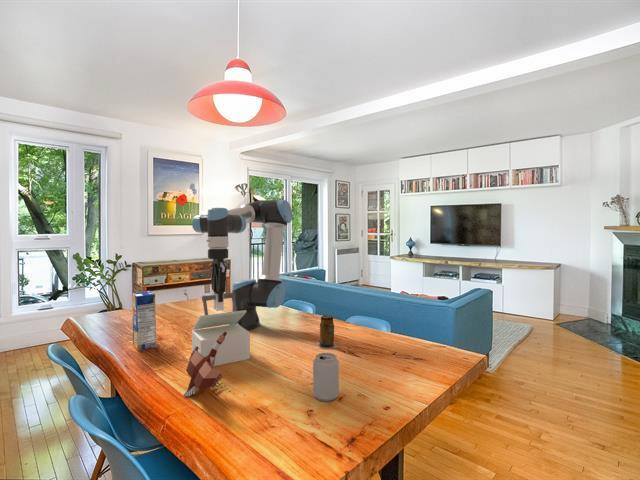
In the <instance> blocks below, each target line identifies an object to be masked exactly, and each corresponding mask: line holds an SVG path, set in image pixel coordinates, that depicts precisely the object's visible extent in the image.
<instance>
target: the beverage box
mask: <svg viewBox="0 0 640 480" xmlns="http://www.w3.org/2000/svg"><path fill="white" fill-rule="evenodd" d="M131 297H132V298H131V299H132V301H131V303H132V306H131V308H132V344H133V345H134V348H135V349H136V350H137V351H138V352H139V351H144V350H149V349H153V348H154V349H155V348H157V341H156V340H157V337H156V336H157V330H156V324H157V323H156V321H157V319H156V294H155V293H154V292H152V291H151V290H143V291H134V292H132V293H131Z"/></svg>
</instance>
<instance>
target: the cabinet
mask: <svg viewBox="0 0 640 480" xmlns="http://www.w3.org/2000/svg"><path fill="white" fill-rule="evenodd" d="M224 332H227V334H226V336H225V340H224V341H223V343H222V344H221V345H220V346H219V348H218V350H217V353H216V356H215V364H214V367H215V366H221V365H225V364H231V363H236V362H241V361H245V360H250V359H251V332H250V331H249V330H248V329H244V328H243V327H241V326H240V325H238V324H233V325H222V326H215V327H209V328H202V329H195V330H193V329H192V330H191V353H193V351H195V350H194V348H195V347H196V346H197V347H199V349H198V352H199V353H200V354H201V355H202V356H203V357H206V356H208V355H209V353H210V351H211V349H212V347H213V346H214V344H215V343H216V341H217V339H218V338H219V336H221V335H222V334H223V333H224Z"/></svg>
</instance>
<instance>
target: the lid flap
mask: <svg viewBox="0 0 640 480" xmlns="http://www.w3.org/2000/svg"><path fill="white" fill-rule="evenodd" d="M226 299H231V301H232V303H233V307H232V309H233V308H234V312H232V311H229V312H221V313H220V312H219V313H214V314H209V311H208V303H207V302H208V301H214V300H216V294H215V295H214V294H207V295H206V294H205V295H202V296H201V301H202V304H203V311H204V315H200V316H199V317H198V319H197V320H196V322H195V324H194V325H193V326H192V331H193V330H200V329H206V328H213V327H220V326H226V325H229V324H235V323H237V322H238V321H239V320H240V319H241V317H242V316H243V315H244V314H245V313H246V310H243V311H237V306H236V300H235V293H232V292H224V300H226ZM232 303H231V304H232Z"/></svg>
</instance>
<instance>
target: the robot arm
mask: <svg viewBox="0 0 640 480" xmlns="http://www.w3.org/2000/svg"><path fill="white" fill-rule="evenodd" d="M292 208H293V207H291V204H290V202H289V201H288V200H285V199H267V200H263V199H262V200H261V199H260V200H256V201H252V202H250V203H245V204H242V205H240V206H239V207H236V208H232V209H227V208H226V207H210V208H207V209H208V210H207V214H199V215H195V216H193V218H192V221H191V223H192V225H191V226H192V229H193V231H194V232H196V233H201V234H204V233H205V234H206V233H207V239H206V243H207V247H208V248H209V249H208V250H207V258H208V260H212V263H211V264H210V265H209V267H210V278H211V281H210V282H211V290H212V291H213V295H215V294H216V300H213V310H215V311H216V312H219V311H224V310H225V308H224V307H225V306H224V305H225V303H224V301H225V299H224V294H225V293H227V289H226V288H227V270H228V267H227V266H226V263H225V261H224V260H226V259H229V234H241V233H242V232H244V231H245V230H246V228H247V224H250V223H261V224H262V223H263V225H264V227H265V229H266V232H265V234H266V235H265V239H264V240H265V243H264V251H263V252H264V253H263V261H262V268H261V269H262V272H261V276H260V277H258V279H255V278H249V279H243V280H242V279H240V280H236V281H234V282H233V283H232V287H231V289H232V290H231V293H235V300H236V306H237V311H243V310H246V313H245V314H244V315H243V316H242V317H241V319H240V320H239V321H238V322H237V323H235V324H238V325H240V326H241V327H243V328H244V329H246V330H251V329H252V330H253V329H256V328H258V327H259V326H260V324H261V322H260V318H259V315H258V312H257V307H259V308H268V309H273V308H274V309H275V308H279V307H280V306H281V305H282V304H283V302H284V300H285V297H286V286H285V285H284V284H283V283H282V282H283V280H282V279H281V278H280V273H281V272H280V271H281V261H282V254H283V253H282V252H283V251H282V250H283V243H284V241H283V240H284V231H285V230H286V229H287V228H288V224H290V223H291V222H292V220H293V217H294V216H293V209H292ZM231 304H232V311H231V312H234V308H233V303H231ZM229 325H233V324H229Z"/></svg>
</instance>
